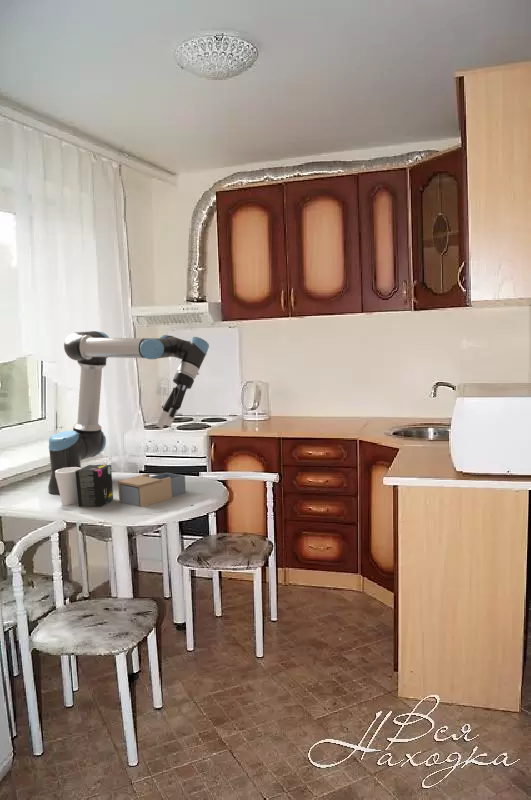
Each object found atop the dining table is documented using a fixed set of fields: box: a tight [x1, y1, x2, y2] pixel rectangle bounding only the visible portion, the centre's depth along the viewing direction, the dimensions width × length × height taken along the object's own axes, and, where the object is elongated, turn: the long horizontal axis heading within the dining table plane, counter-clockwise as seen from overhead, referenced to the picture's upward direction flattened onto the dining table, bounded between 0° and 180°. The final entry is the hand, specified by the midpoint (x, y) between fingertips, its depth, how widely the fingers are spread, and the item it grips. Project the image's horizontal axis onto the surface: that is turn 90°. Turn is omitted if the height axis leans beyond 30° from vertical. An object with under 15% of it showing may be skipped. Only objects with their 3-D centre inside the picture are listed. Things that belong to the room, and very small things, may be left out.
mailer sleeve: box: [117, 473, 173, 508], centre depth 238 cm, size 13×14×9 cm
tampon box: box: [75, 464, 114, 508], centre depth 237 cm, size 11×9×15 cm
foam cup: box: [55, 467, 82, 507], centre depth 242 cm, size 10×9×13 cm
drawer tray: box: [120, 472, 187, 507], centre depth 241 cm, size 11×22×7 cm, turn 139°
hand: (162, 426), depth 243 cm, fingers open, 13 cm apart
